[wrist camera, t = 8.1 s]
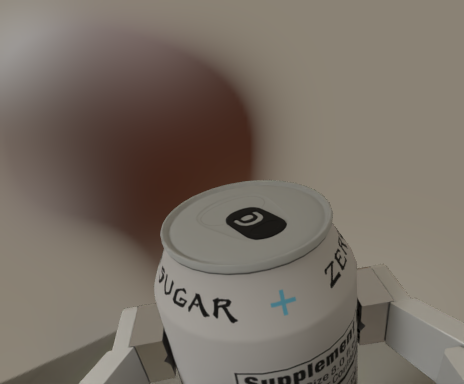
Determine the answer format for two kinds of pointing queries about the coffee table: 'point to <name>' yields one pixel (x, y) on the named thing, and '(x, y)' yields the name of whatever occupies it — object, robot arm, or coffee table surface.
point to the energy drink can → (258, 287)
